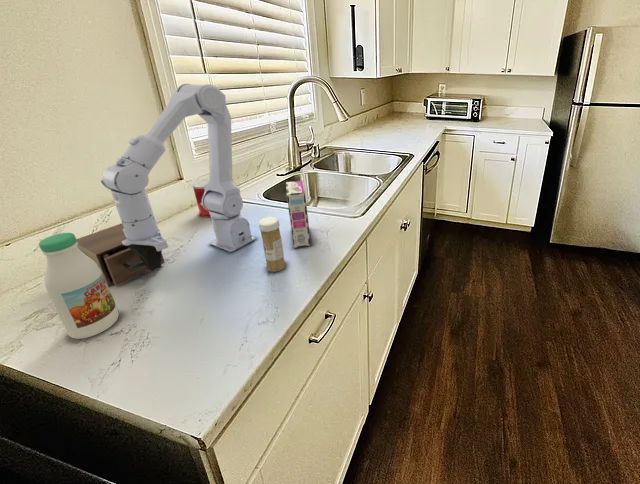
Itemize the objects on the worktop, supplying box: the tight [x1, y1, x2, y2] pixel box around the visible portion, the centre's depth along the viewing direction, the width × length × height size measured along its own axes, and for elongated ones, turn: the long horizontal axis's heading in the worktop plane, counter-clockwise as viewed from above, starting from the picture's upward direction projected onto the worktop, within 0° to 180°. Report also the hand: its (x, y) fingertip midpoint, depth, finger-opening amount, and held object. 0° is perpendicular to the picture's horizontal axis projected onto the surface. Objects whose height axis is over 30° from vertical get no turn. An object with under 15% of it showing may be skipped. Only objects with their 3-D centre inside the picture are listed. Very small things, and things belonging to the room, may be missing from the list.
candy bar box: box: [285, 180, 312, 249], centre depth 94 cm, size 11×5×16 cm, turn 19°
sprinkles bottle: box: [258, 216, 286, 273], centre depth 81 cm, size 5×5×14 cm
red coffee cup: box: [192, 178, 211, 218], centre depth 112 cm, size 8×8×11 cm
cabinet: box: [76, 222, 127, 287], centre depth 83 cm, size 13×12×9 cm
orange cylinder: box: [113, 245, 130, 254], centre depth 81 cm, size 4×4×6 cm
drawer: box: [100, 248, 165, 286], centre depth 80 cm, size 16×10×7 cm, turn 62°
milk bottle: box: [38, 232, 120, 340], centre depth 62 cm, size 8×8×20 cm
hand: (155, 268), depth 77 cm, fingers closed
